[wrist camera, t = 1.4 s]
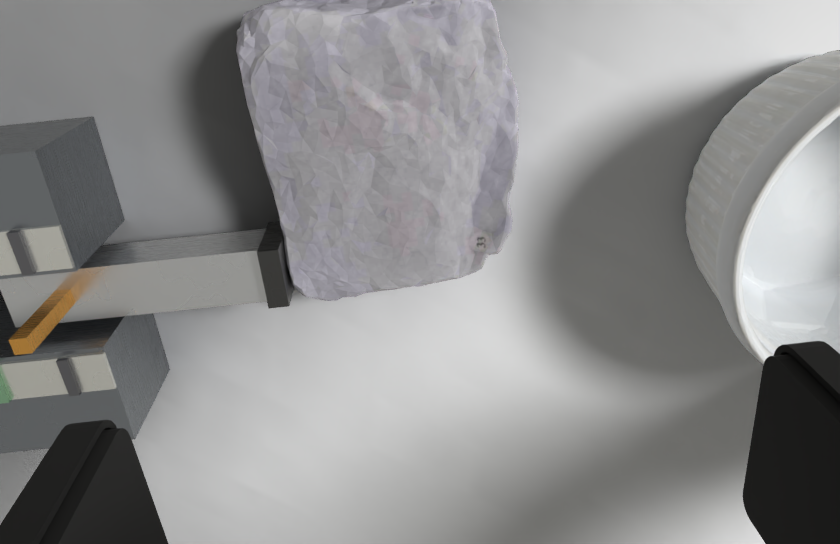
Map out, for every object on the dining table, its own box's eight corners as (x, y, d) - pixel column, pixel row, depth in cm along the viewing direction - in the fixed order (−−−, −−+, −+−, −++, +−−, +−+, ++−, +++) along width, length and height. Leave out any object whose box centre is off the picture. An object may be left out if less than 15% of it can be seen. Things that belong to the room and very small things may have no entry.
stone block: (473, -41, 27) (220, 4, 25) (519, -38, 23) (219, 16, 21) (500, 229, 32) (293, 280, 31) (540, 272, 28) (304, 334, 27)
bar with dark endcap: (287, 220, 28) (264, 289, 22) (297, 272, 29) (278, 350, 23) (26, 247, 28) (-63, 323, 22) (46, 298, 29) (-35, 383, 23)
